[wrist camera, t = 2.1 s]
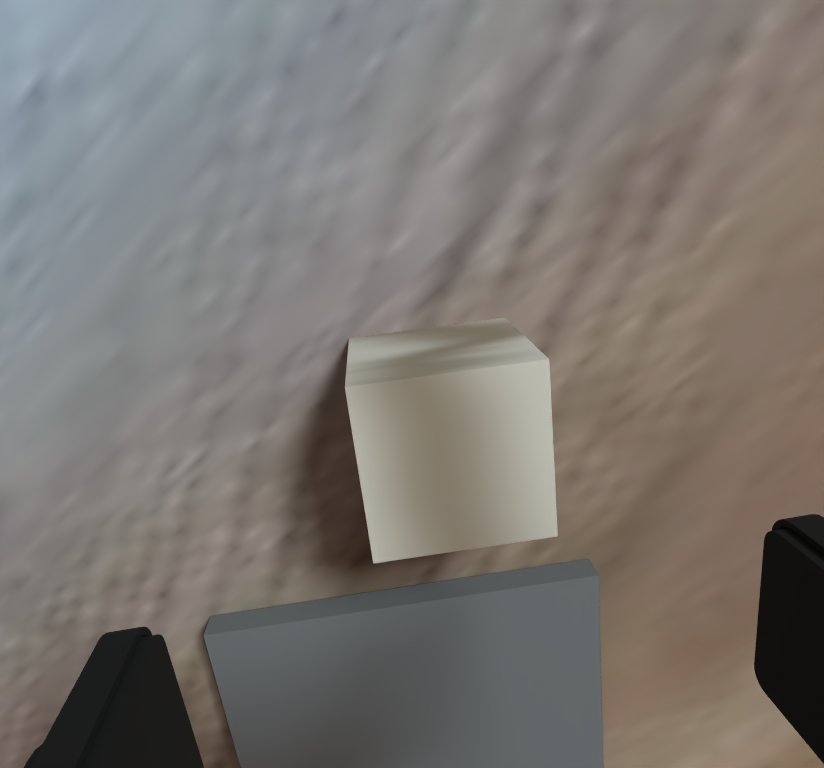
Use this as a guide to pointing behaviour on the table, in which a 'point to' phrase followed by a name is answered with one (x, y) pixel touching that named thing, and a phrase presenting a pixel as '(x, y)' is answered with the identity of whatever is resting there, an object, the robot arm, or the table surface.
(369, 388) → the cream cube
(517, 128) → the table surface
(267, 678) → the slate board
